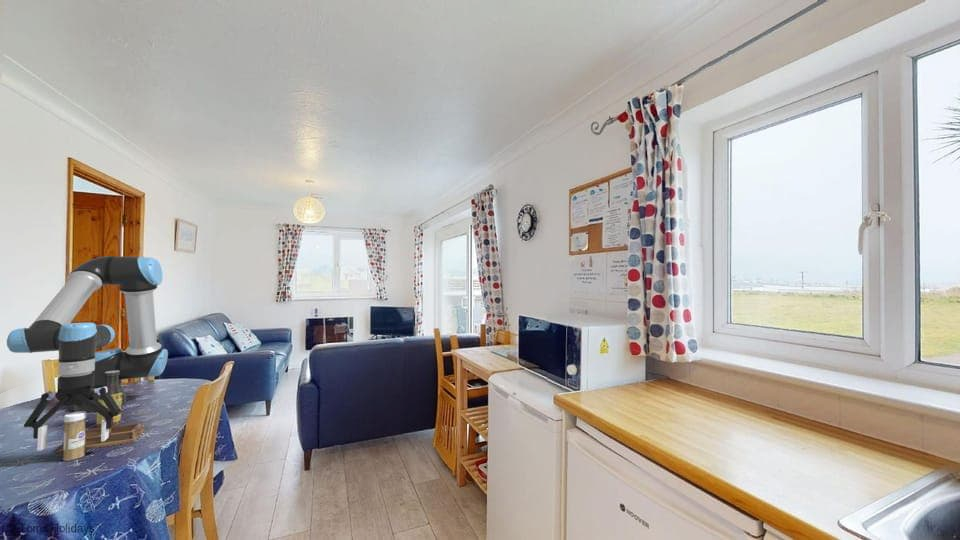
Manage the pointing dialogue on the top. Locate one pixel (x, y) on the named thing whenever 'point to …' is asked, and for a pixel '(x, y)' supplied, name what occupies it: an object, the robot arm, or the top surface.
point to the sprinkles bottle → (74, 435)
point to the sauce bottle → (114, 391)
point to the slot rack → (111, 436)
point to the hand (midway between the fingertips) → (74, 444)
